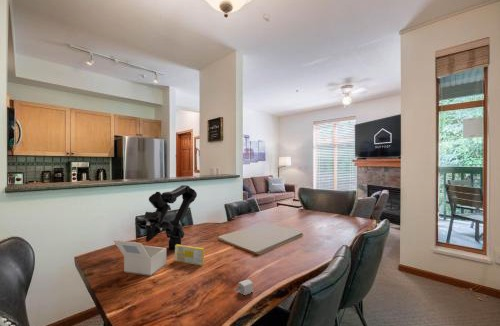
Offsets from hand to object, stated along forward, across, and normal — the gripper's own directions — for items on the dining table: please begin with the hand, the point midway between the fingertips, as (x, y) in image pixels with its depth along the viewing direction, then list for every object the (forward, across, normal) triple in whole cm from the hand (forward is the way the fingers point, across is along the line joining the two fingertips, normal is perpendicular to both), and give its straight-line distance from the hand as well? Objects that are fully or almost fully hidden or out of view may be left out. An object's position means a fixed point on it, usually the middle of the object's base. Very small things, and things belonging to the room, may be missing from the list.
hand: (146, 241), depth 110 cm
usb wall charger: (+15, +50, +2) cm, 53 cm away
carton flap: (+7, 0, -7) cm, 10 cm away
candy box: (+2, +17, +16) cm, 24 cm away
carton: (+9, 0, +8) cm, 13 cm away
